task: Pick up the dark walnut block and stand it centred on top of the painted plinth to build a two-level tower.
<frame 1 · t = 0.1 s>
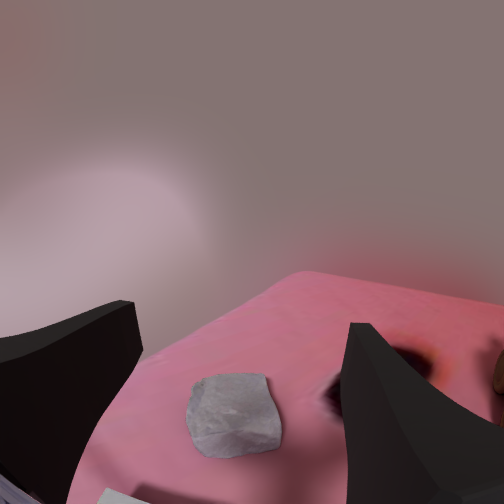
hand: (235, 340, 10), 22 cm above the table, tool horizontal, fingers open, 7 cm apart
stone block: (230, 423, 32), on the table
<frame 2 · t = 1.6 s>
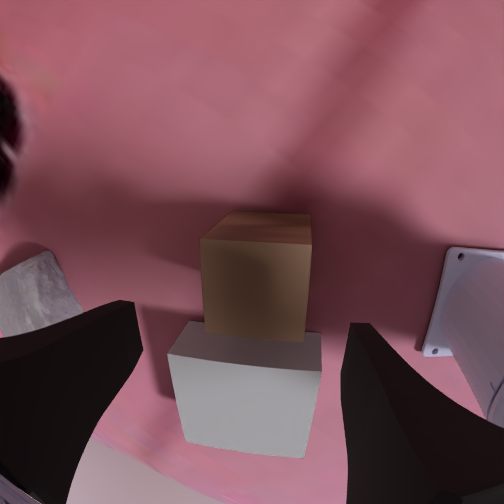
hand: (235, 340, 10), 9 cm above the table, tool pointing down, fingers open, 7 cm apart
walnut block: (270, 249, 19), on the table
stone block: (45, 306, 25), on the table
plinth: (252, 377, 22), on the table
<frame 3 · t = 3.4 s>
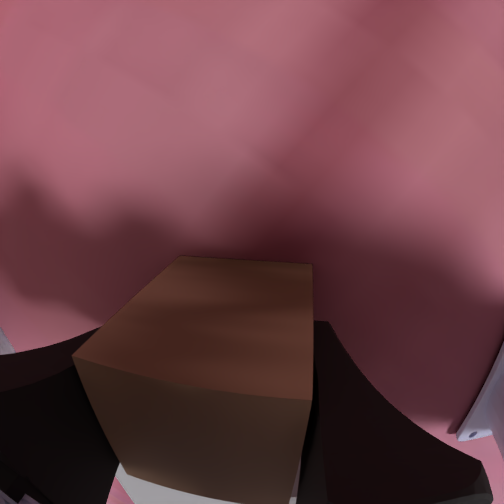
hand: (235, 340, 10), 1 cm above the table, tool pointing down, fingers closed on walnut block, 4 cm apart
walnut block: (243, 318, 11), on the table, touching gripper
plinth: (228, 463, 14), on the table
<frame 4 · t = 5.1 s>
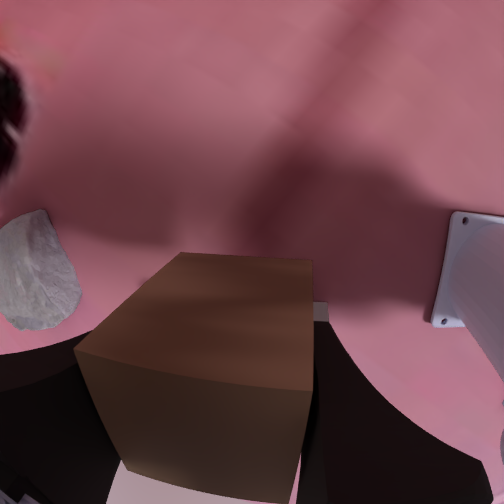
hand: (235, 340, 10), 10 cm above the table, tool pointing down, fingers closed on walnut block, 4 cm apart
walnut block: (244, 315, 11), point 8 cm above the table, touching gripper
stone block: (38, 273, 24), on the table
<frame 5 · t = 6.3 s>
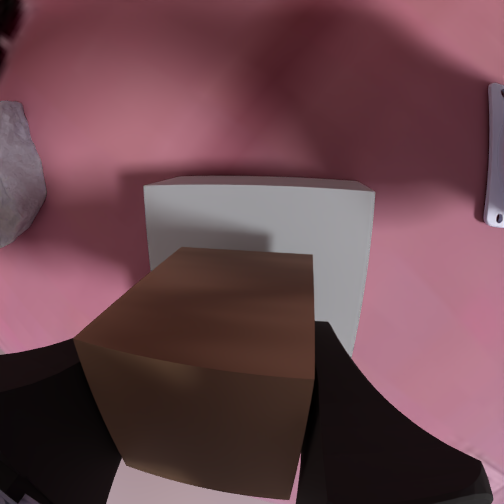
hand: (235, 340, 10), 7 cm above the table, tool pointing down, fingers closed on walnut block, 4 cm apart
walnut block: (244, 310, 11), point 6 cm above the table, touching gripper
stone block: (5, 184, 19), on the table
plinth: (265, 262, 16), on the table
when the fingers open (7 cm above the table, at t = 7.0 s): walnut block drops 2 cm, resting on plinth.
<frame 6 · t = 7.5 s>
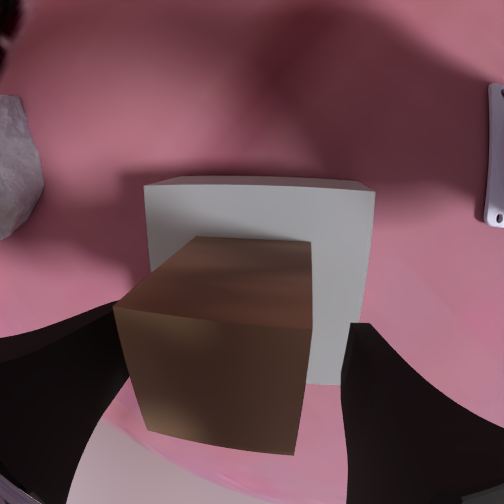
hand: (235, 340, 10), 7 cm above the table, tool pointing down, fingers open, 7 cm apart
walnut block: (251, 292, 13), point 4 cm above the table, touching plinth
stone block: (3, 178, 19), on the table
plinth: (265, 262, 16), on the table
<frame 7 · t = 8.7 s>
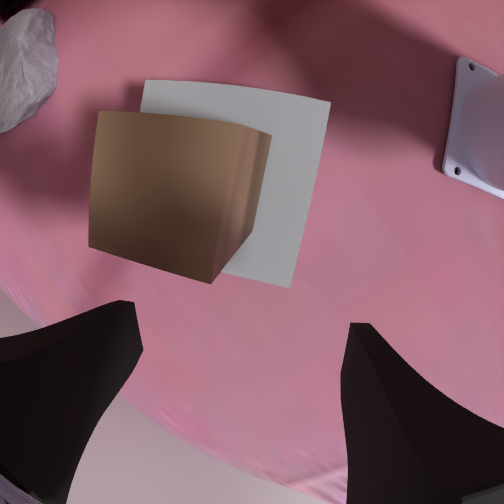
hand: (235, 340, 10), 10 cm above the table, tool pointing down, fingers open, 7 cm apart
walnut block: (214, 174, 14), point 4 cm above the table, touching plinth
stone block: (19, 83, 18), on the table
plinth: (234, 172, 18), on the table
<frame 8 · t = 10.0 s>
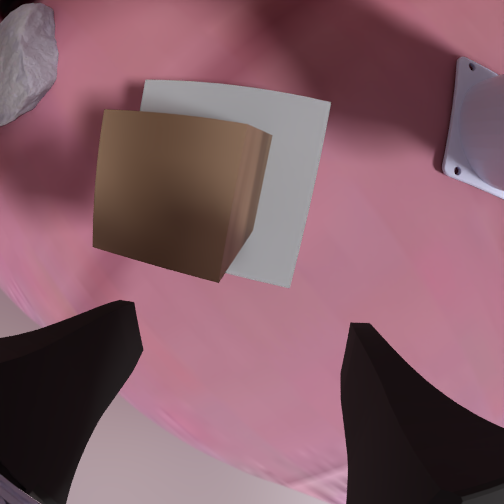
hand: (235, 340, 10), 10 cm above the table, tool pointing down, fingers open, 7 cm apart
walnut block: (215, 173, 14), point 4 cm above the table, touching plinth
stone block: (19, 77, 18), on the table
plinth: (234, 172, 18), on the table
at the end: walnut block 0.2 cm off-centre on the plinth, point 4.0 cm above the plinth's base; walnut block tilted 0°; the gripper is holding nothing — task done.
